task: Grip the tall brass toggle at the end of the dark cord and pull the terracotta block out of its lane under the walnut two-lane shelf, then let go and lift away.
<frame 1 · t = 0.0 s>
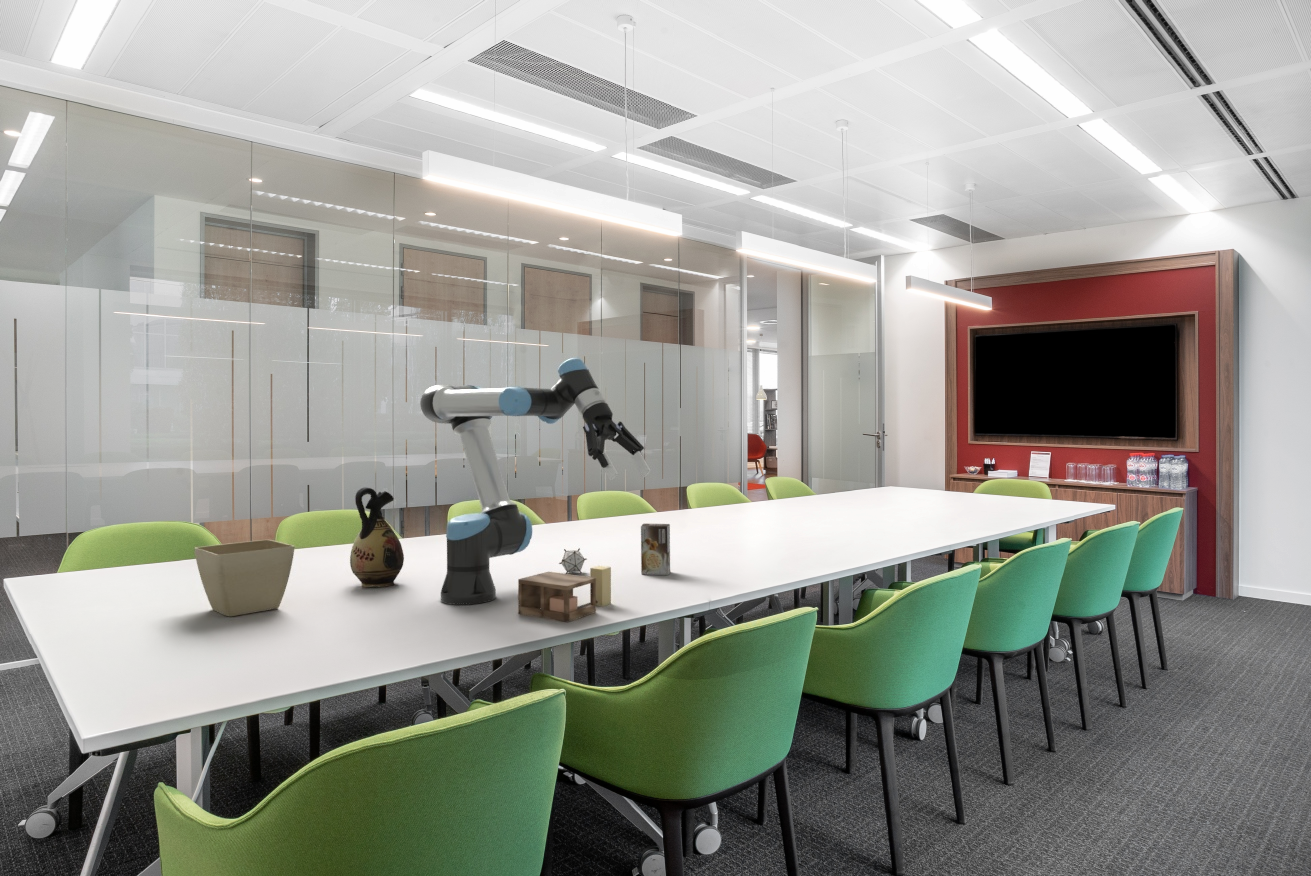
hand: (631, 475, 198), 36 cm above the table, tool tilted 35°, fingers open, 13 cm apart
coffee box: (655, 573, 253), on the table
shelf: (557, 612, 200), on the table
block: (563, 616, 197), on the table
flower pot: (245, 610, 204), on the table
ceramic jug: (374, 585, 234), on the table
game die: (572, 573, 253), on the table
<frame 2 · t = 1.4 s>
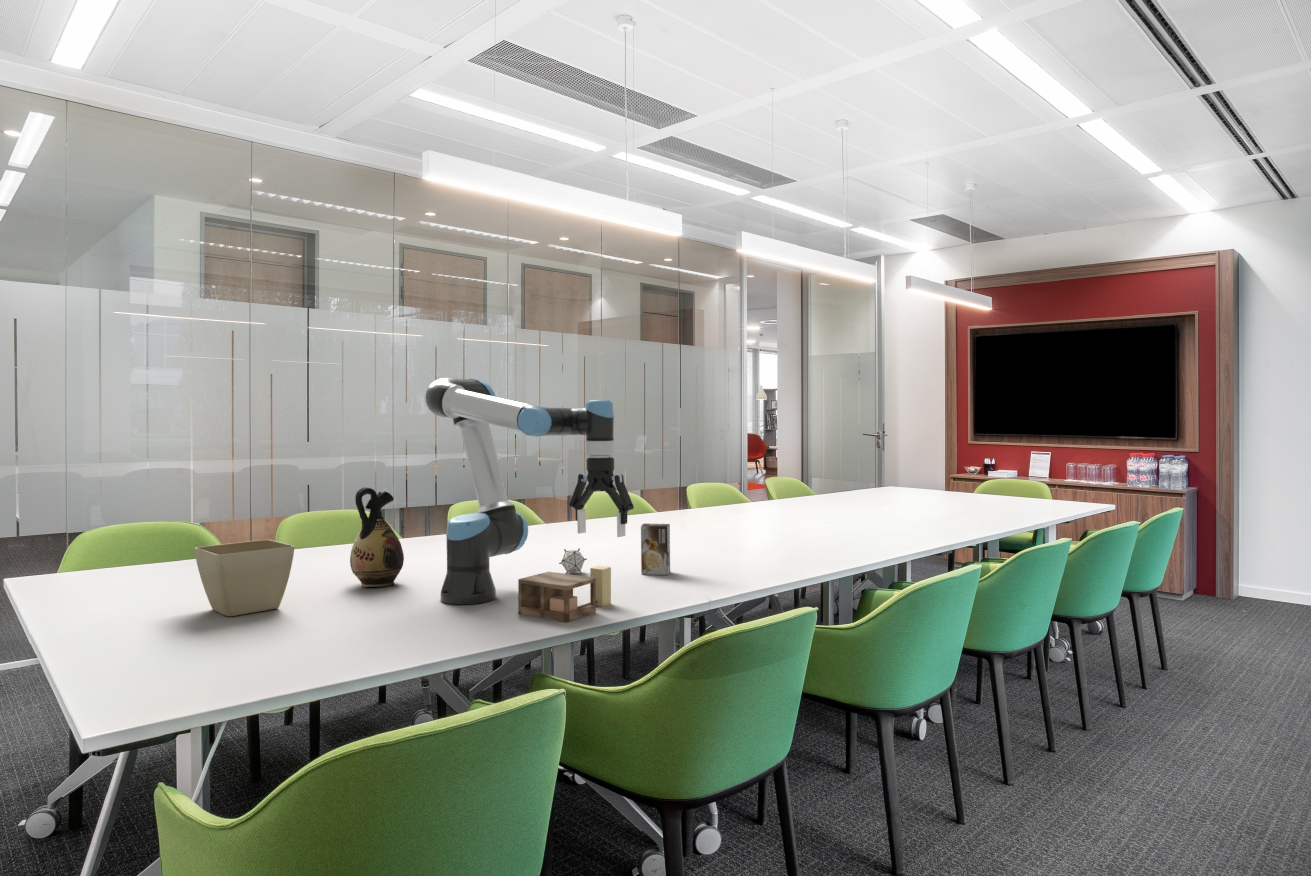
hand: (601, 534, 209), 19 cm above the table, tool pointing down, fingers open, 13 cm apart
nothing on the table moved.
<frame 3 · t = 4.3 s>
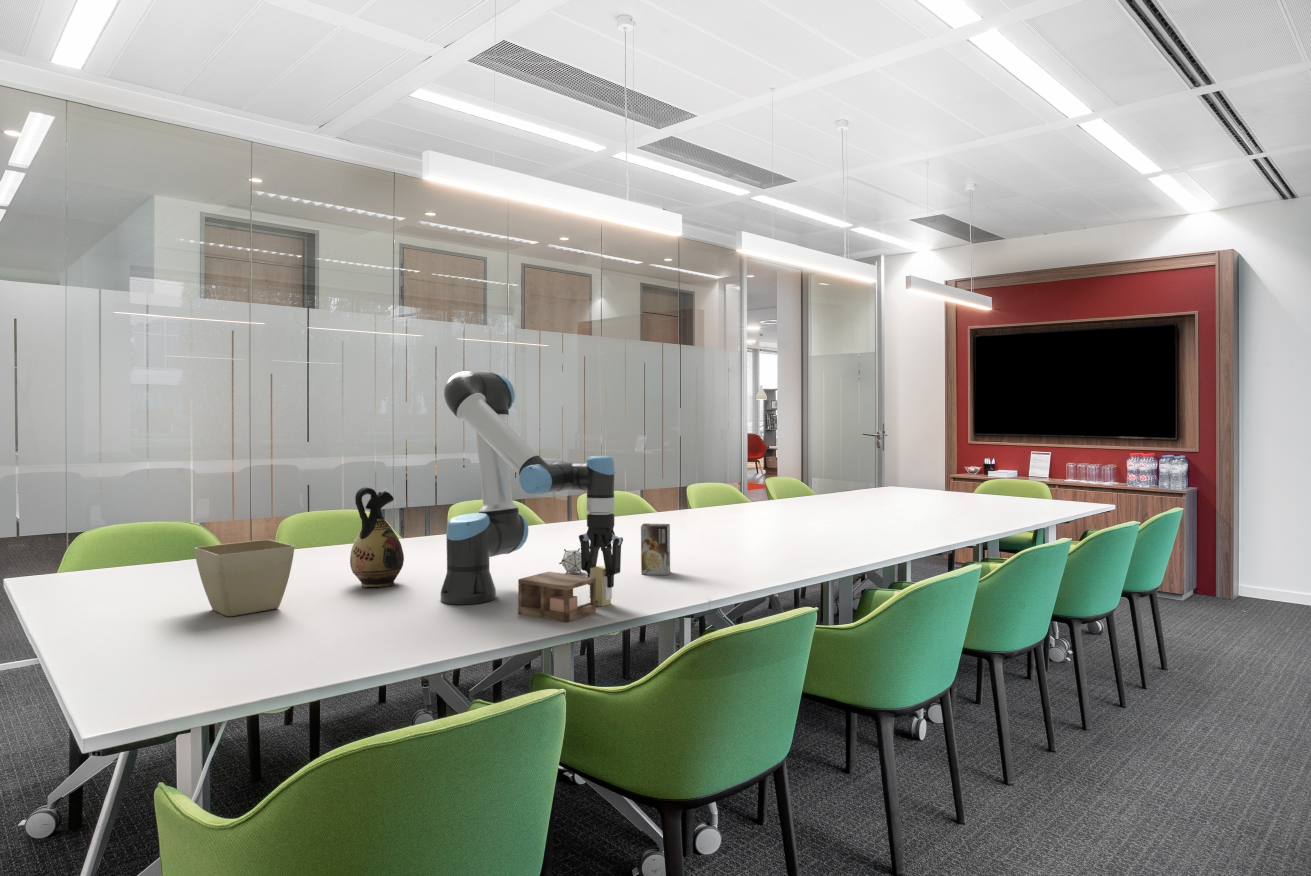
hand: (600, 597, 210), 2 cm above the table, tool pointing down, fingers closed on block, 4 cm apart
block: (563, 616, 197), on the table, touching gripper
everything else where it was.
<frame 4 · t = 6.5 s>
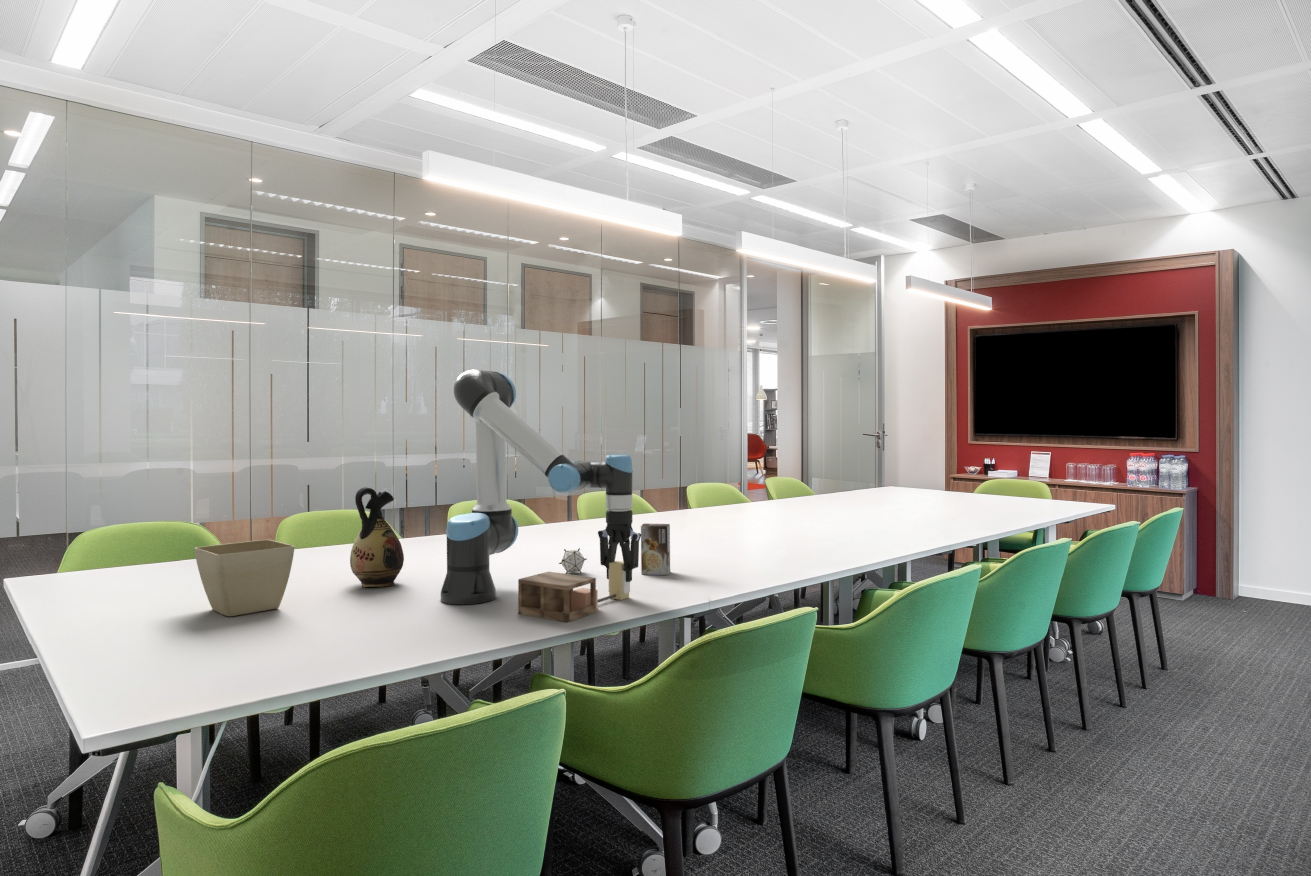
hand: (619, 591, 217), 2 cm above the table, tool pointing down, fingers closed on block, 4 cm apart
block: (584, 609, 204), on the table, touching gripper
everything else where it was.
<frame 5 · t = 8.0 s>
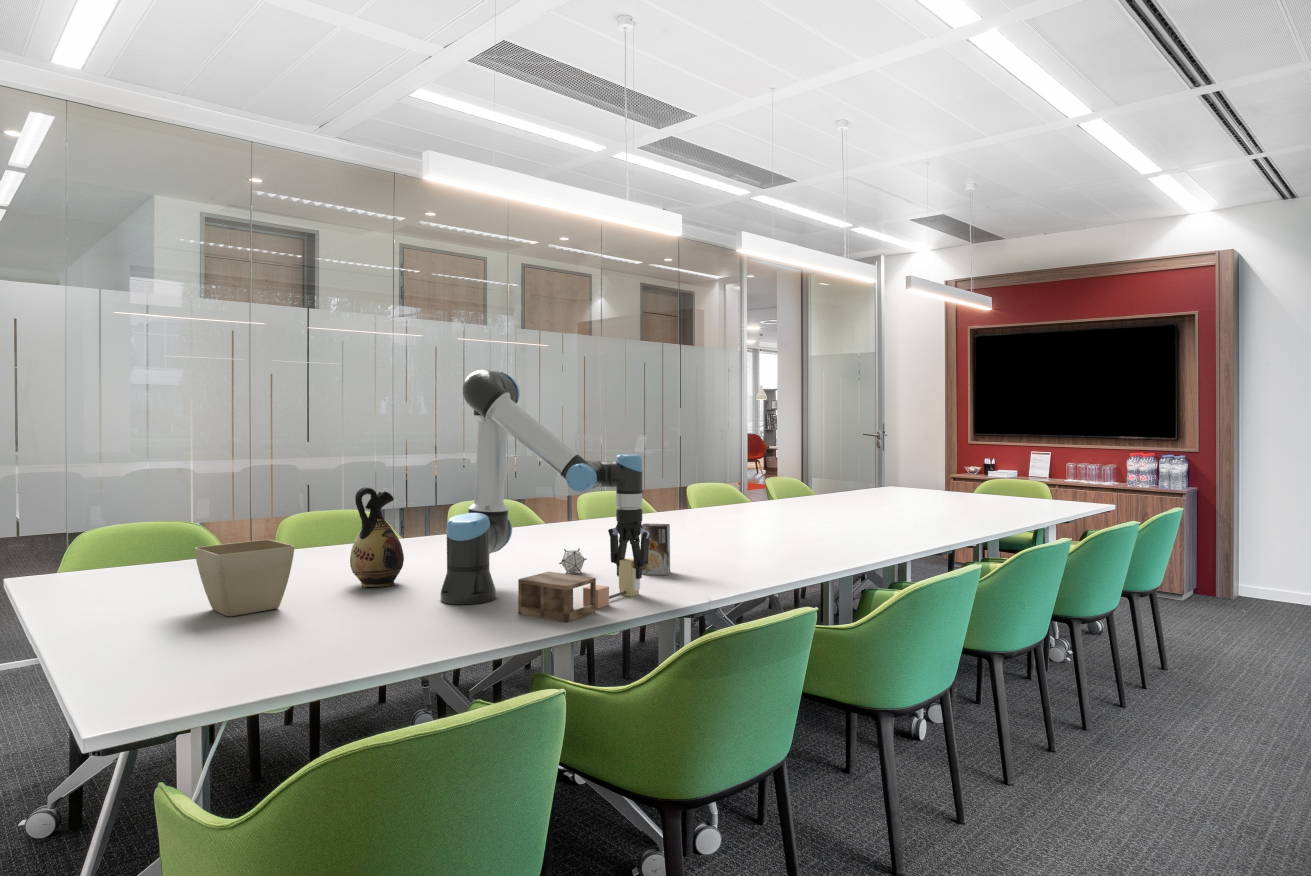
hand: (629, 588, 222), 2 cm above the table, tool pointing down, fingers closed on block, 4 cm apart
block: (596, 605, 208), on the table, touching gripper
everything else where it was.
when the fingers open (2 cm above the table, at t = 8.7 s): block stays where it is, on the table.
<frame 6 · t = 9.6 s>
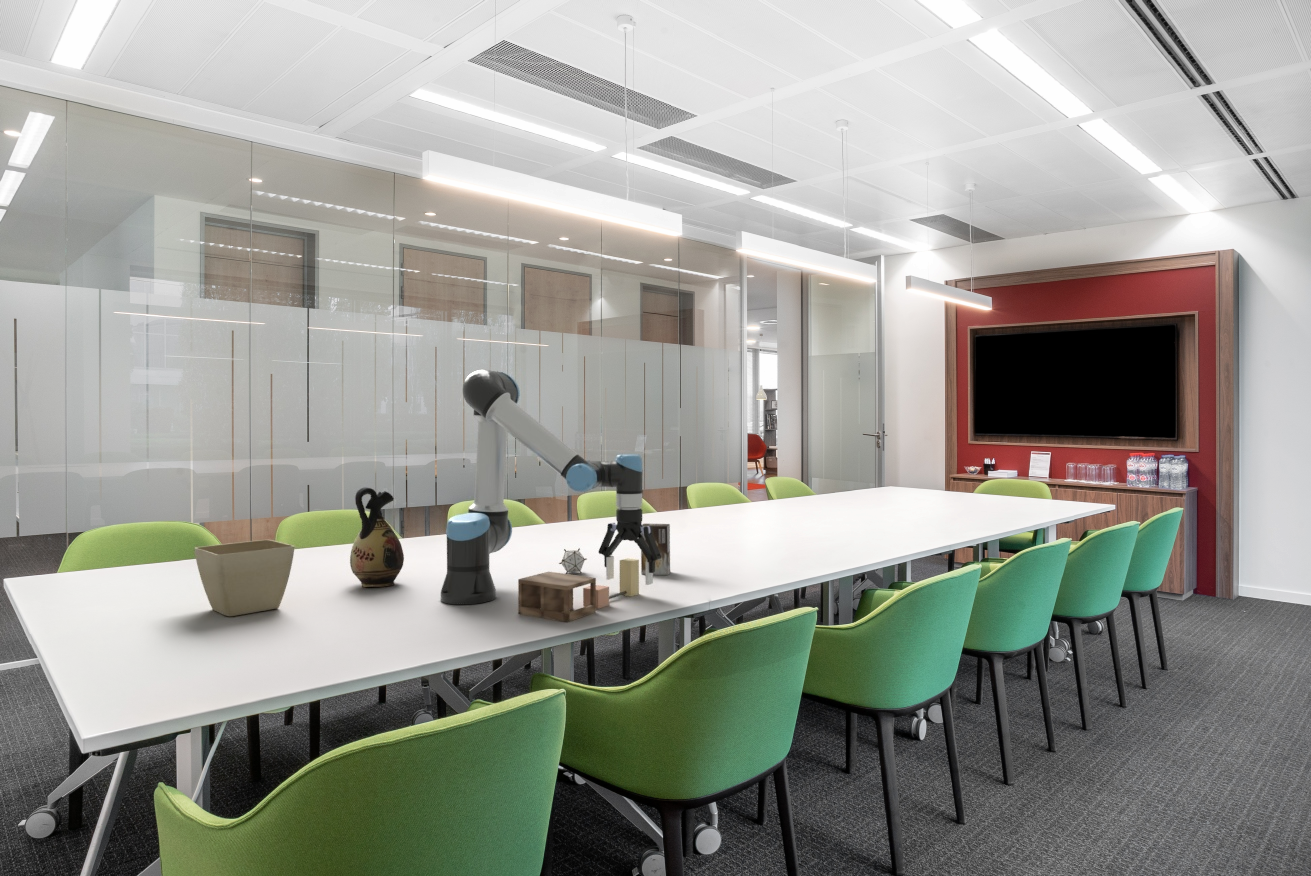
hand: (629, 581, 222), 4 cm above the table, tool pointing down, fingers open, 13 cm apart
block: (596, 605, 208), on the table
everything else where it was.
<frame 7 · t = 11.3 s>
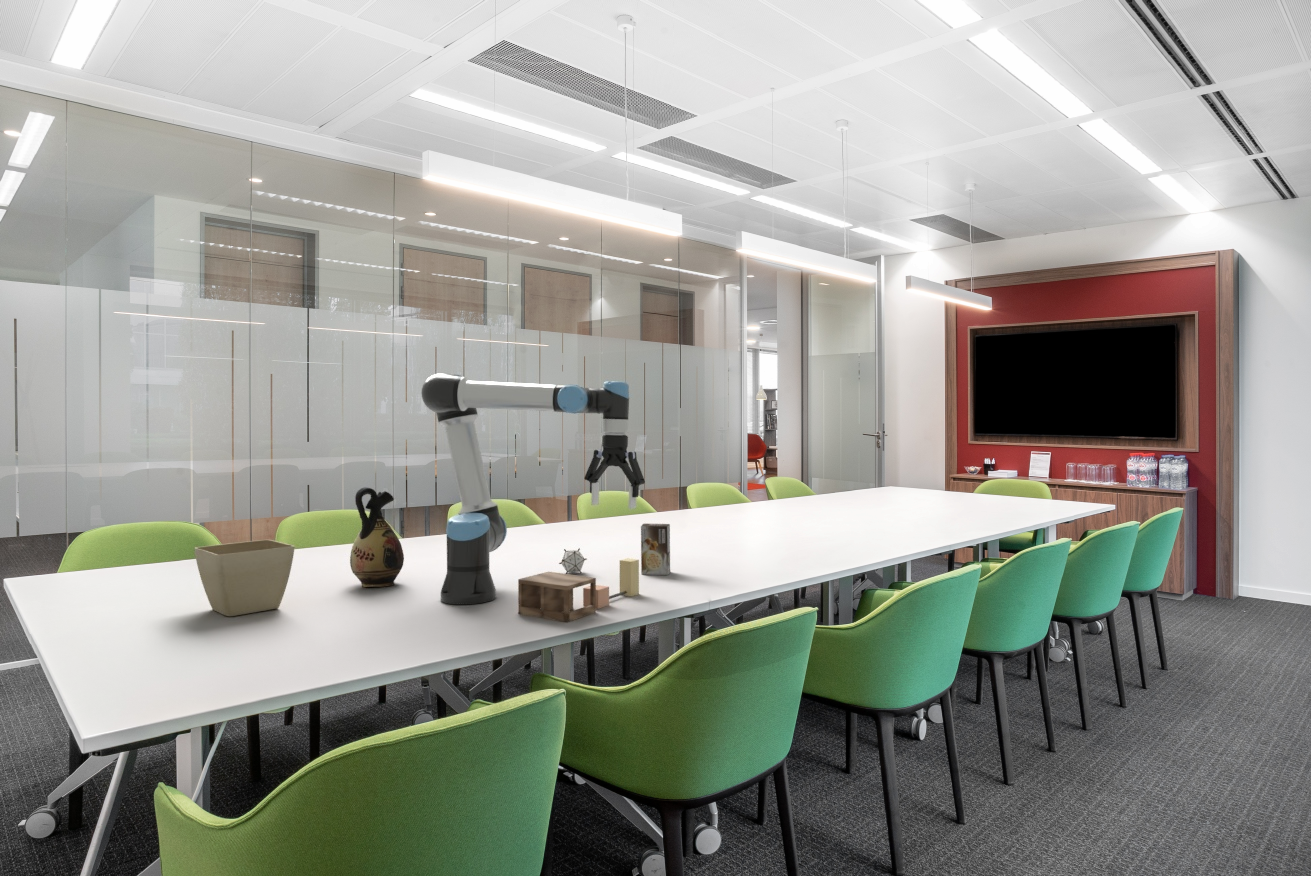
hand: (613, 506, 226), 25 cm above the table, tool pointing down, fingers open, 13 cm apart
nothing on the table moved.
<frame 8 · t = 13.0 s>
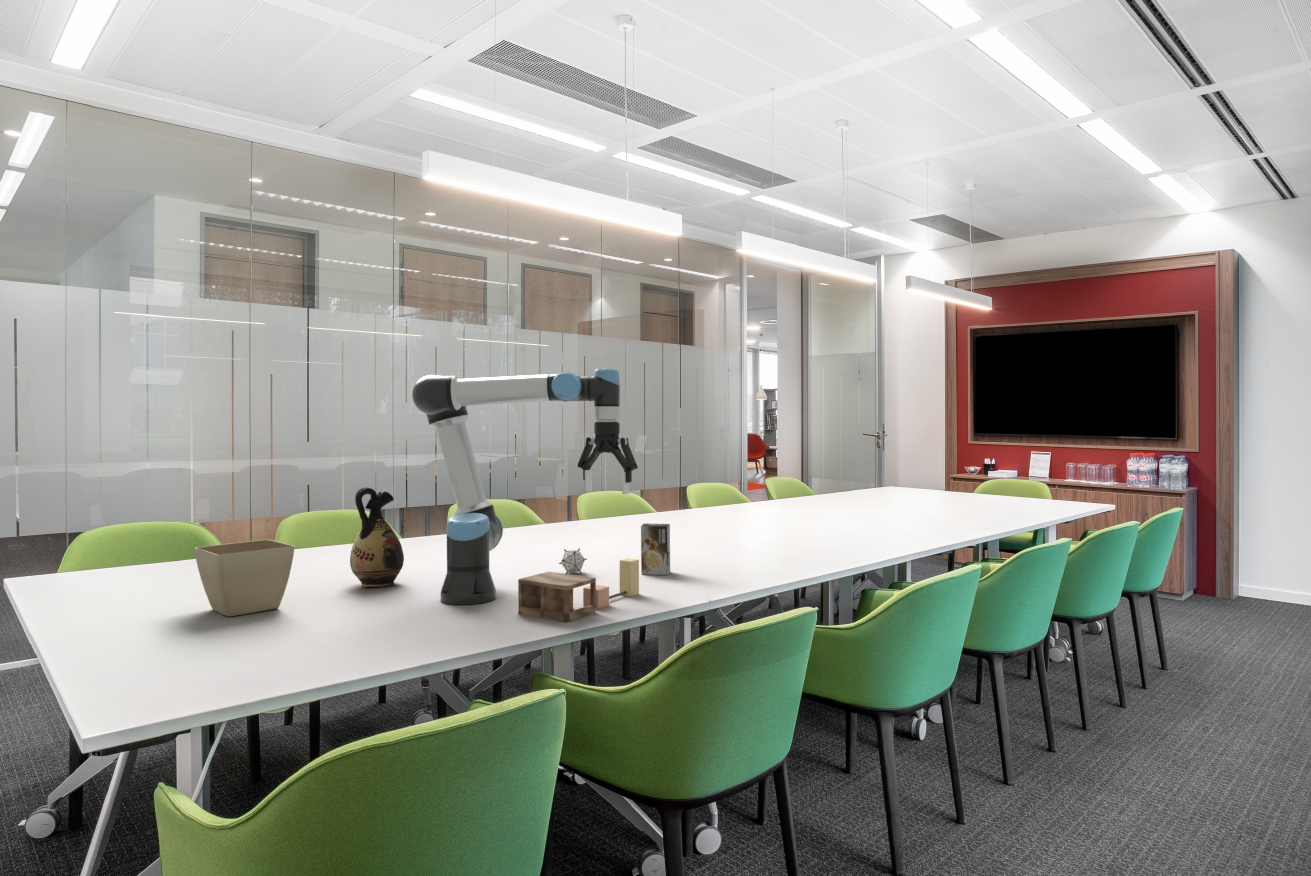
hand: (606, 492, 228), 29 cm above the table, tool pointing down, fingers open, 13 cm apart
nothing on the table moved.
at the end: block moved 13.9 cm from its start; block tilted 0°; the gripper is holding nothing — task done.
